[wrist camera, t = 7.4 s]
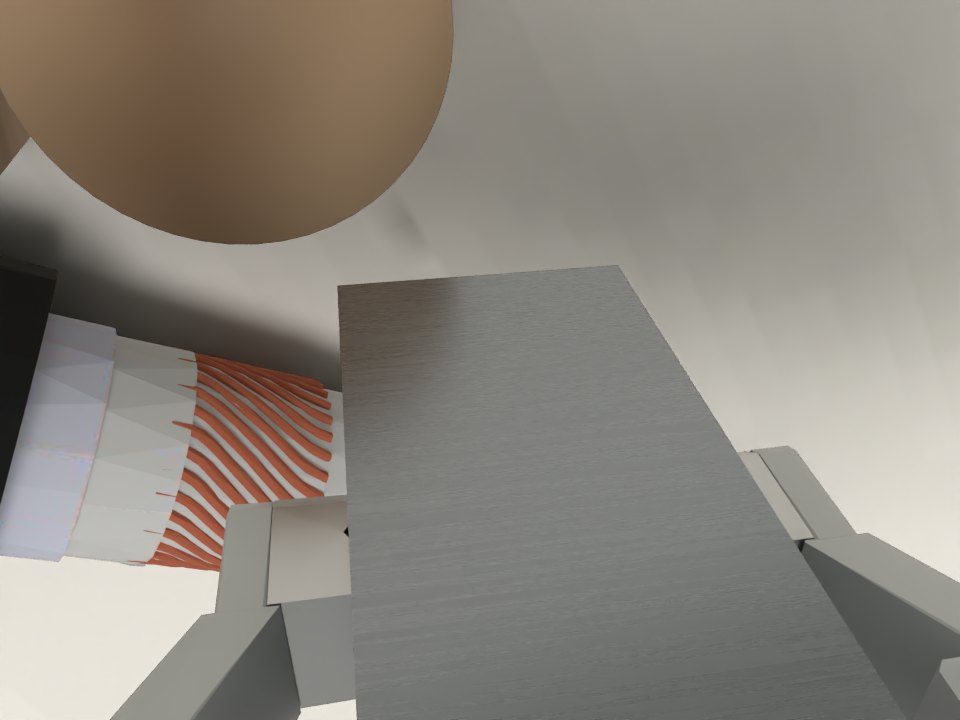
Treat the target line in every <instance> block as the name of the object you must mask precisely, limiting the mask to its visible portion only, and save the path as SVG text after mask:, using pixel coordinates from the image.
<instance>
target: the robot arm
mask: <svg viewBox="0 0 960 720" xmlns="http://www.w3.org/2000/svg"><path fill="white" fill-rule="evenodd" d="M737 453H738V455H739V457H740V458H741V460H742V461H743V463H744V464H745V466H746V468H747V469H748V471H749V472H750V474H751V475H752V477H753V479H754V480H755V482H756V483H757V485H758V486H759V488H760V490H761V491H762V493H763V494H764V496H765V497H766V499H767V501H768V502H769V504H770V505H771V507H772V508H773V510H774V512H775V513H776V515H777V516H778V518H779V519H780V521H781V523H782V524H783V526H784V527H785V529H786V530H787V532H788V534H789V535H790V537H791V538H792V540H793V541H794V543H795V545H796V546H797V548H798V549H799V551H800V552H801V554H802V556H803V557H804V559H805V560H806V562H807V563H808V565H809V567H810V568H811V570H812V571H813V573H814V574H815V576H816V578H817V579H818V581H819V582H820V584H821V585H822V587H823V589H824V590H825V592H826V593H827V595H828V596H829V598H830V600H831V601H832V603H833V604H834V606H835V607H836V609H837V611H838V612H839V614H840V615H841V617H842V618H843V620H844V622H845V623H846V625H847V626H848V628H849V629H850V631H851V633H852V634H853V636H854V637H855V639H856V640H857V642H858V644H859V645H860V647H861V648H862V650H863V651H864V653H865V655H866V656H867V658H868V659H869V661H870V662H871V664H872V666H873V667H874V669H875V670H876V672H877V673H878V675H879V677H880V678H881V680H882V681H883V683H884V684H885V686H886V688H887V689H888V691H889V692H890V694H891V695H892V697H893V699H894V700H895V702H896V703H897V705H898V706H899V708H900V710H901V711H902V713H903V714H904V716H905V717H906V719H907V720H960V583H959V582H957V581H955V580H953V579H952V578H950V577H948V576H946V575H944V574H942V573H941V572H939V571H937V570H935V569H933V568H931V567H930V566H928V565H926V564H924V563H922V562H920V561H919V560H917V559H915V558H913V557H911V556H909V555H908V554H906V553H904V552H902V551H900V550H899V549H897V548H895V547H893V546H891V545H889V544H888V543H886V542H884V541H882V540H880V539H878V538H877V537H875V536H873V535H871V534H869V533H863V534H857V533H856V532H855V530H854V529H853V528H852V526H851V525H850V524H849V522H848V521H847V519H846V518H845V517H844V515H843V514H842V513H841V511H840V510H839V509H838V507H837V506H836V504H835V503H834V502H833V500H832V499H831V498H830V496H829V495H828V494H827V492H826V491H825V490H824V488H823V487H822V485H821V484H820V483H819V481H818V480H817V479H816V477H815V476H814V475H813V473H812V472H811V470H810V469H809V468H808V466H807V465H806V464H805V462H804V461H803V460H802V458H801V457H800V456H799V454H798V453H797V452H796V450H794V449H792V448H791V447H789V446H782V447H774V448H766V449H758V450H751V451H750V452H748V451H744V452H737ZM353 699H356V688H355V665H354V643H353V621H352V598H351V576H350V554H349V531H348V509H347V495H335V496H323V497H311V498H299V499H287V500H275V501H274V502H263V503H250V504H237V505H231V507H230V509H229V511H228V513H227V518H226V526H225V534H224V542H223V550H222V558H221V566H220V575H219V583H218V591H217V599H216V607H215V613H212V614H205V615H201V616H200V617H199V619H198V620H197V621H196V622H195V623H194V624H193V625H192V627H191V628H190V629H189V630H188V631H187V632H186V633H185V635H184V636H183V637H182V638H181V639H180V640H179V641H178V643H177V644H176V645H175V646H174V647H173V648H172V649H171V650H170V652H169V653H168V654H167V655H166V656H165V657H164V658H163V660H162V661H161V662H160V663H159V664H158V665H157V666H156V668H155V669H154V670H153V671H152V672H151V673H150V674H149V676H148V677H147V678H146V679H145V680H144V681H143V682H142V684H141V685H140V686H139V687H138V688H137V689H136V690H135V691H134V693H133V694H132V695H131V696H130V697H129V698H128V699H127V701H126V702H125V703H124V704H123V705H122V706H121V707H120V709H119V710H118V711H117V712H116V713H115V714H114V715H113V717H112V718H111V719H110V720H297V719H298V717H299V715H300V713H301V711H300V708H305V707H311V706H317V705H323V704H329V703H335V702H341V701H347V700H353Z"/></svg>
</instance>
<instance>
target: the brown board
mask: <svg viewBox="0 0 960 720" xmlns="http://www.w3.org/2000/svg"><path fill="white" fill-rule="evenodd" d="M29 137H30V135H29V134H28V132H27V131H26V130H25V128H24V127H23V125H22V124H21V122H20V121H19V119H18V118H17V116H16V115H15V113H14V112H13V110H12V109H11V107H10V106H9V104H8V102H7V100H6V98H5V96H4V94H3V92H2V90H1V88H0V175H1V173H2V172H3V171H4V170H5V168H6V167H7V166H8V164H9V163H10V162H11V161H12V159H13V158H14V157H15V155H16V154H17V153H18V152H19V150H20V149H21V148H22V146H23V145H24V144H25V143H26V141H27V140H28V139H29Z"/></svg>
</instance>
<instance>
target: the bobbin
mask: <svg viewBox="0 0 960 720" xmlns="http://www.w3.org/2000/svg"><path fill="white" fill-rule="evenodd" d="M452 47H453V16H452V1H451V0H0V88H1V90H2V92H3V94H4V96H5V98H6V100H7V102H8V104H9V106H10V107H11V109H12V110H13V112H14V113H15V115H16V116H17V118H18V119H19V121H20V122H21V124H22V125H23V127H24V128H25V130H26V131H27V132H28V134H29V135H30V136H31V137H32V138H33V140H34V141H35V142H36V143H37V144H38V146H39V147H40V148H41V149H42V150H43V152H44V153H45V154H46V155H47V156H48V157H49V158H50V159H51V160H52V161H53V162H54V163H55V164H56V165H57V166H58V167H59V168H60V169H61V170H62V171H63V172H64V173H65V174H67V175H68V176H69V177H70V178H71V179H72V180H73V181H75V182H76V183H77V184H79V185H80V186H81V187H83V188H84V189H85V190H86V191H88V192H89V193H90V194H92V195H93V196H94V197H96V198H97V199H99V200H101V201H102V202H104V203H106V204H107V205H109V206H110V207H112V208H114V209H115V210H117V211H119V212H120V213H122V214H124V215H126V216H129V217H131V218H133V219H135V220H137V221H139V222H141V223H143V224H145V225H148V226H151V227H153V228H156V229H159V230H162V231H165V232H168V233H171V234H174V235H177V236H182V237H186V238H191V239H195V240H199V241H205V242H214V243H223V244H263V243H271V242H280V241H285V240H290V239H294V238H298V237H302V236H306V235H309V234H312V233H315V232H317V231H320V230H323V229H326V228H328V227H331V226H333V225H335V224H337V223H339V222H341V221H343V220H345V219H346V218H348V217H350V216H352V215H354V214H356V213H357V212H359V211H360V210H361V209H363V208H364V207H366V206H367V205H369V204H370V203H371V202H373V201H374V200H376V199H377V198H378V197H379V196H380V195H381V194H382V193H383V192H385V191H386V190H387V189H388V188H389V187H390V186H391V185H392V184H393V183H394V182H395V181H396V180H397V179H398V178H399V177H400V175H401V174H402V173H403V172H404V171H405V170H406V168H407V167H408V166H409V165H410V164H411V162H412V161H413V159H414V158H415V156H416V155H417V153H418V152H419V150H420V149H421V147H422V146H423V144H424V142H425V141H426V139H427V137H428V135H429V133H430V131H431V129H432V126H433V124H434V122H435V120H436V118H437V116H438V113H439V110H440V107H441V104H442V101H443V98H444V95H445V92H446V88H447V82H448V77H449V72H450V67H451V62H452Z"/></svg>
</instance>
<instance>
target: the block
mask: <svg viewBox="0 0 960 720" xmlns="http://www.w3.org/2000/svg"><path fill="white" fill-rule="evenodd" d="M338 307H339V330H340V352H341V375H342V397H343V419H344V442H345V464H346V486H347V509H348V531H349V554H350V576H351V598H352V621H353V643H354V665H355V688H356V710H357V720H907V719H906V717H905V716H904V714H903V713H902V711H901V710H900V708H899V706H898V705H897V703H896V702H895V700H894V699H893V697H892V695H891V694H890V692H889V691H888V689H887V688H886V686H885V684H884V683H883V681H882V680H881V678H880V677H879V675H878V673H877V672H876V670H875V669H874V667H873V666H872V664H871V662H870V661H869V659H868V658H867V656H866V655H865V653H864V651H863V650H862V648H861V647H860V645H859V644H858V642H857V640H856V639H855V637H854V636H853V634H852V633H851V631H850V629H849V628H848V626H847V625H846V623H845V622H844V620H843V618H842V617H841V615H840V614H839V612H838V611H837V609H836V607H835V606H834V604H833V603H832V601H831V600H830V598H829V596H828V595H827V593H826V592H825V590H824V589H823V587H822V585H821V584H820V582H819V581H818V579H817V578H816V576H815V574H814V573H813V571H812V570H811V568H810V567H809V565H808V563H807V562H806V560H805V559H804V557H803V556H802V554H801V552H800V551H799V549H798V548H797V546H796V545H795V543H794V541H793V540H792V538H791V537H790V535H789V534H788V532H787V530H786V529H785V527H784V526H783V524H782V523H781V521H780V519H779V518H778V516H777V515H776V513H775V512H774V510H773V508H772V507H771V505H770V504H769V502H768V501H767V499H766V497H765V496H764V494H763V493H762V491H761V490H760V488H759V486H758V485H757V483H756V482H755V480H754V479H753V477H752V475H751V474H750V472H749V471H748V469H747V468H746V466H745V464H744V463H743V461H742V460H741V458H740V457H739V455H738V453H737V452H736V450H735V449H734V447H733V446H732V444H731V442H730V441H729V439H728V438H727V436H726V435H725V433H724V431H723V430H722V428H721V427H720V425H719V424H718V422H717V420H716V419H715V417H714V416H713V414H712V413H711V411H710V409H709V408H708V406H707V405H706V403H705V402H704V400H703V398H702V397H701V395H700V394H699V392H698V391H697V389H696V387H695V386H694V384H693V383H692V381H691V380H690V378H689V376H688V375H687V373H686V372H685V370H684V369H683V367H682V365H681V364H680V362H679V361H678V359H677V358H676V356H675V354H674V353H673V351H672V350H671V348H670V347H669V345H668V343H667V342H666V340H665V339H664V337H663V335H662V334H661V332H660V331H659V329H658V328H657V326H656V324H655V323H654V321H653V320H652V318H651V317H650V315H649V313H648V312H647V310H646V309H645V307H644V306H643V304H642V302H641V301H640V299H639V298H638V296H637V295H636V293H635V291H634V290H633V288H632V287H631V285H630V284H629V282H628V280H627V279H626V277H625V276H624V274H623V273H622V271H621V269H620V268H619V266H618V265H616V266H602V267H588V268H575V269H561V270H547V271H534V272H520V273H506V274H492V275H479V276H465V277H451V278H437V279H424V280H410V281H396V282H383V283H369V284H355V285H341V286H338Z"/></svg>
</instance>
